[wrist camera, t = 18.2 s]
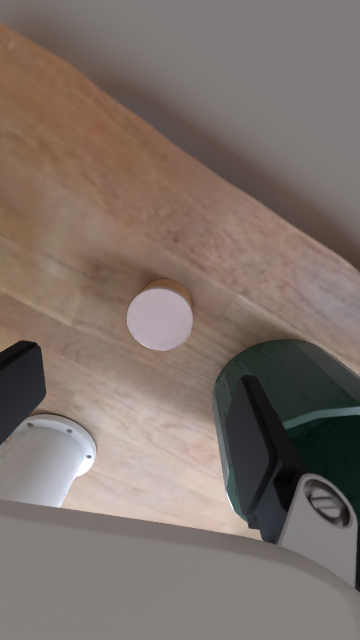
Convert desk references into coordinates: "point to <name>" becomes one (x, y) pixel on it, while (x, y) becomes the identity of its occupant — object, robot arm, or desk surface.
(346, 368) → the pot
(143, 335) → the cake
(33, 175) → the desk surface
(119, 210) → the desk surface
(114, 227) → the desk surface
